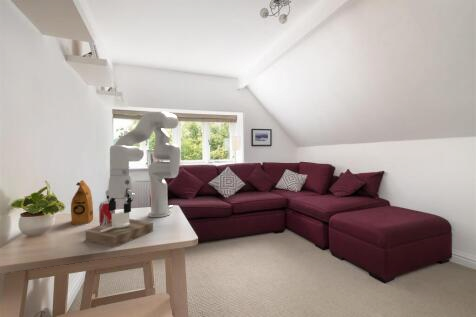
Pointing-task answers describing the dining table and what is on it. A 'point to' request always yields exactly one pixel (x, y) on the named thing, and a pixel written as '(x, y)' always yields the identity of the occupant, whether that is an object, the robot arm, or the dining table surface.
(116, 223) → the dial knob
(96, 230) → the flat wooden block
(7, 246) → the dining table surface
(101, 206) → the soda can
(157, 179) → the robot arm
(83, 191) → the coffee package
